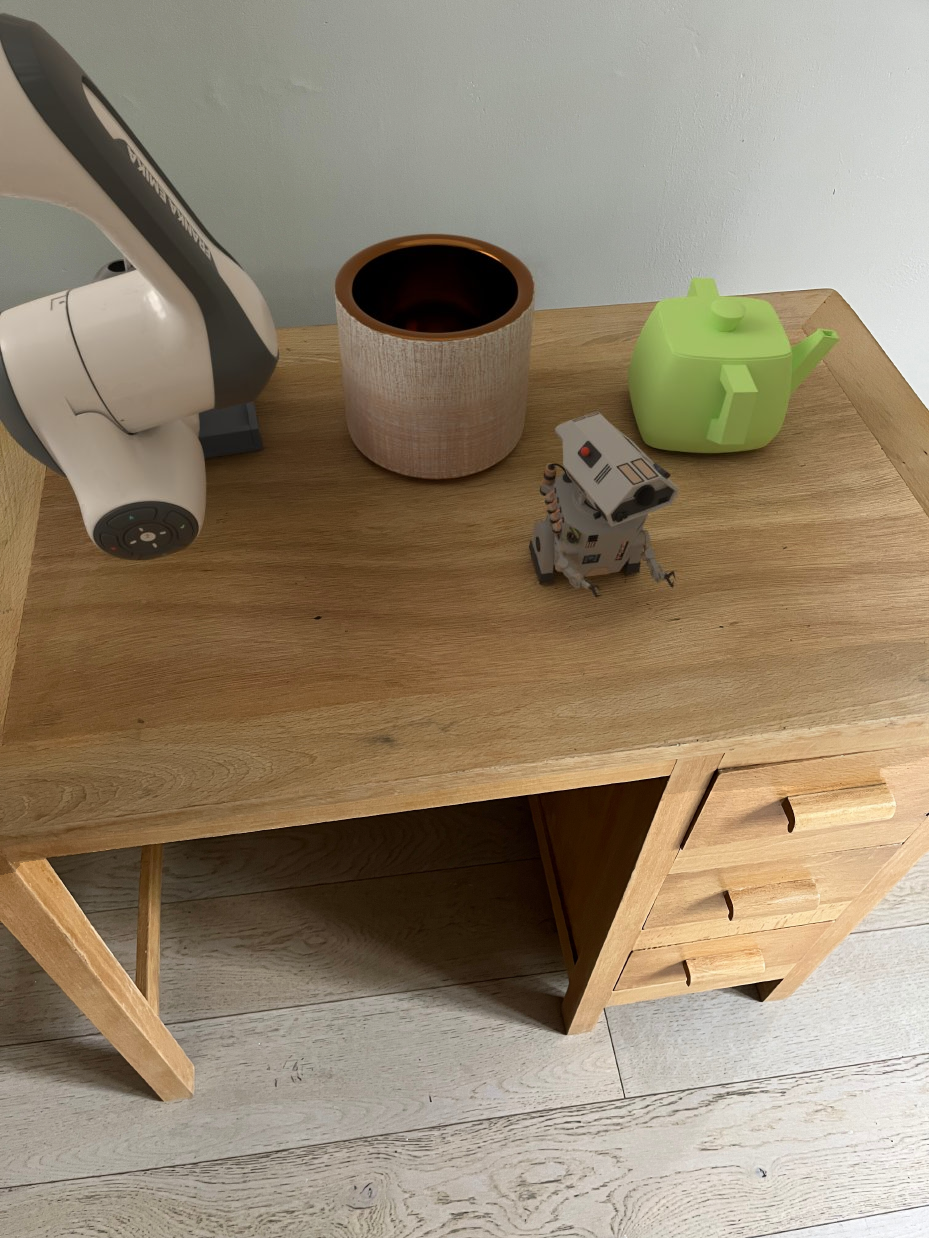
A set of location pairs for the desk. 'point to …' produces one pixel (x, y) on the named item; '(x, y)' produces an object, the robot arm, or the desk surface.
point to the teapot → (717, 372)
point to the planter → (435, 352)
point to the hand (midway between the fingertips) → (134, 307)
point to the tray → (229, 430)
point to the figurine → (598, 505)
